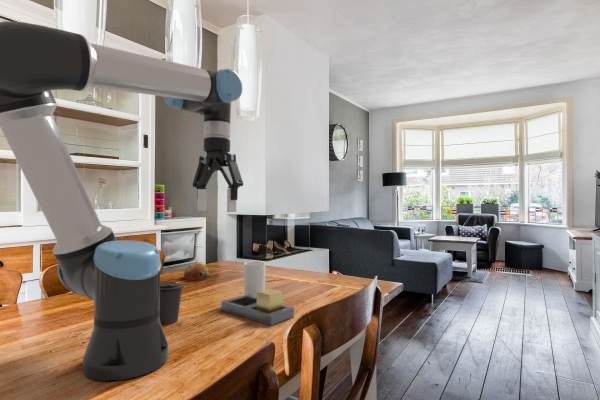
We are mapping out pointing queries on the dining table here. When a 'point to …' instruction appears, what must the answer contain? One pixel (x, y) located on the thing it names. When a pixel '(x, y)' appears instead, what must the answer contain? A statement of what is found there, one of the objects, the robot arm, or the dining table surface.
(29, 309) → the dining table surface
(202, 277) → the bread roll
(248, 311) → the grey flat frame
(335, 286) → the dining table surface
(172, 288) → the coffee cup
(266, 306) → the pale yellow block
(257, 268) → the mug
